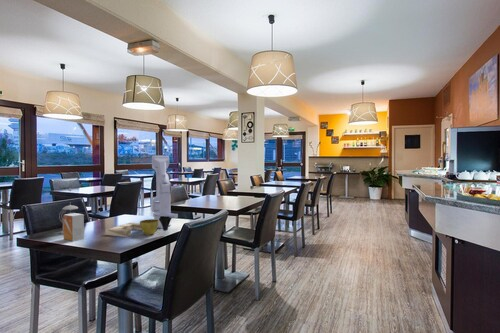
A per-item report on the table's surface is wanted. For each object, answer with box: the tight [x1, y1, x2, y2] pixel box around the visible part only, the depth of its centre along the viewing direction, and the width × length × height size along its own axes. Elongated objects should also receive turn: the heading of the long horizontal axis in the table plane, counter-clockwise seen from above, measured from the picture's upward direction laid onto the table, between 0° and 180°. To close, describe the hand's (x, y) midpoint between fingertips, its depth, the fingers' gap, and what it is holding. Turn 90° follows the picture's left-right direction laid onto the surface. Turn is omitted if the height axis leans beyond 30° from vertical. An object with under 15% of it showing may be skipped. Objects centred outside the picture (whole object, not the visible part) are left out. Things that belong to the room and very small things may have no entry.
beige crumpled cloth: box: [105, 222, 142, 238], centre depth 179 cm, size 20×14×3 cm
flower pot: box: [139, 218, 159, 236], centre depth 175 cm, size 10×10×7 cm
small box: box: [62, 212, 85, 242], centre depth 163 cm, size 8×6×13 cm
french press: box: [58, 188, 79, 235], centre depth 180 cm, size 10×12×25 cm
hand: (165, 230), depth 171 cm, fingers closed
